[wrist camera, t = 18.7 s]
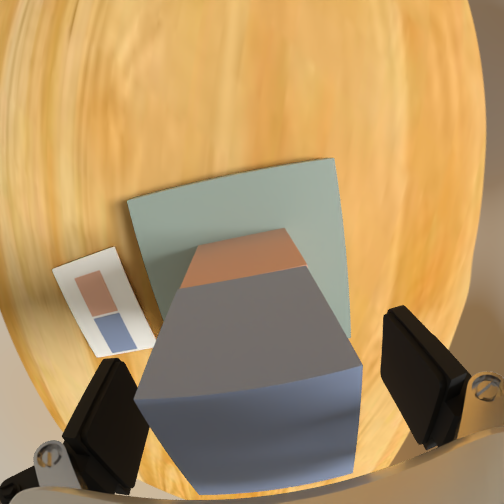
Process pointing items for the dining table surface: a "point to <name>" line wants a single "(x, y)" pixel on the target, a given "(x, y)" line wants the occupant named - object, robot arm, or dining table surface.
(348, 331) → the baseplate
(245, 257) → the brick
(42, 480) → the robot arm
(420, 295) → the dining table surface
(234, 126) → the dining table surface
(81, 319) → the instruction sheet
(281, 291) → the brick
